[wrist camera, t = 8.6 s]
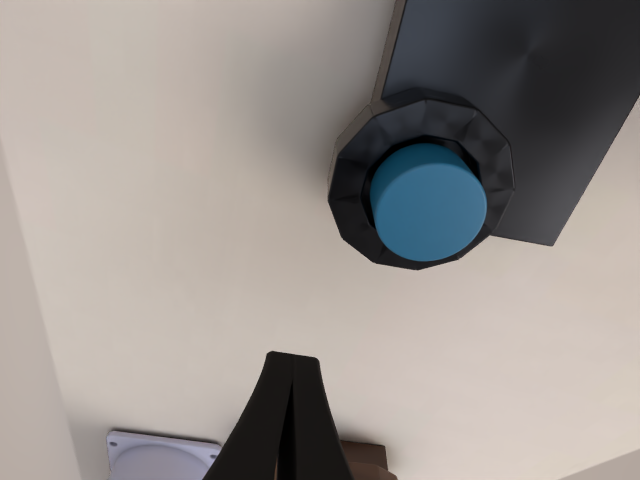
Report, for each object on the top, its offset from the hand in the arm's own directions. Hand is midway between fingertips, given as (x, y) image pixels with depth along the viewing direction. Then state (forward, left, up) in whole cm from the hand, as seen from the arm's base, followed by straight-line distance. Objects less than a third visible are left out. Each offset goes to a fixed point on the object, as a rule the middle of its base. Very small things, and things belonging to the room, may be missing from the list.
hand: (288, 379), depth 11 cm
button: (+4, -4, -6) cm, 8 cm away
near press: (+9, -6, -10) cm, 14 cm away
